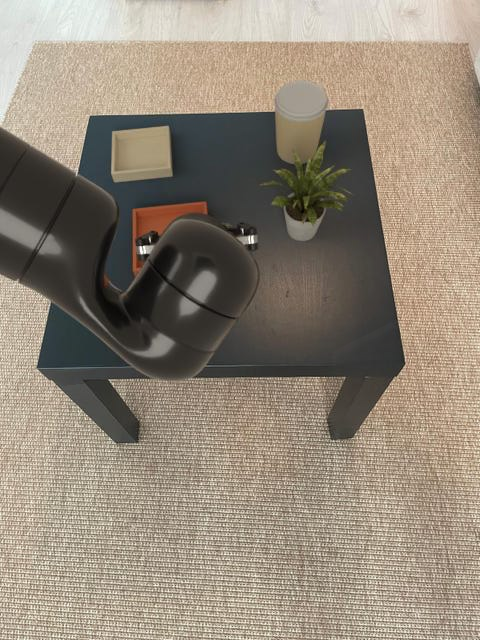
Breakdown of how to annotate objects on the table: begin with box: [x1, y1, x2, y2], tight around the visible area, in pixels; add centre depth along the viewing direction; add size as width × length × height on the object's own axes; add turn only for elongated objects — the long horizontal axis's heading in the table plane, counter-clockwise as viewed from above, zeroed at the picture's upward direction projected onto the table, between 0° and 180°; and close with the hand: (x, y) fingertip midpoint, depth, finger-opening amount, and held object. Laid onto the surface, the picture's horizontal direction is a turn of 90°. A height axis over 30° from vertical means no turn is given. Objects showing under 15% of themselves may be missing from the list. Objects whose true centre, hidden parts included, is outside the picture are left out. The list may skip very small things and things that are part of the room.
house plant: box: [258, 140, 358, 242], centre depth 77 cm, size 14×14×16 cm
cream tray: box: [110, 125, 174, 183], centre depth 93 cm, size 11×11×2 cm
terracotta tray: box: [132, 200, 209, 278], centre depth 84 cm, size 13×13×2 cm
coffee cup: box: [273, 79, 329, 165], centre depth 88 cm, size 9×9×12 cm
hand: (199, 232), depth 63 cm, fingers closed on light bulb, 5 cm apart
